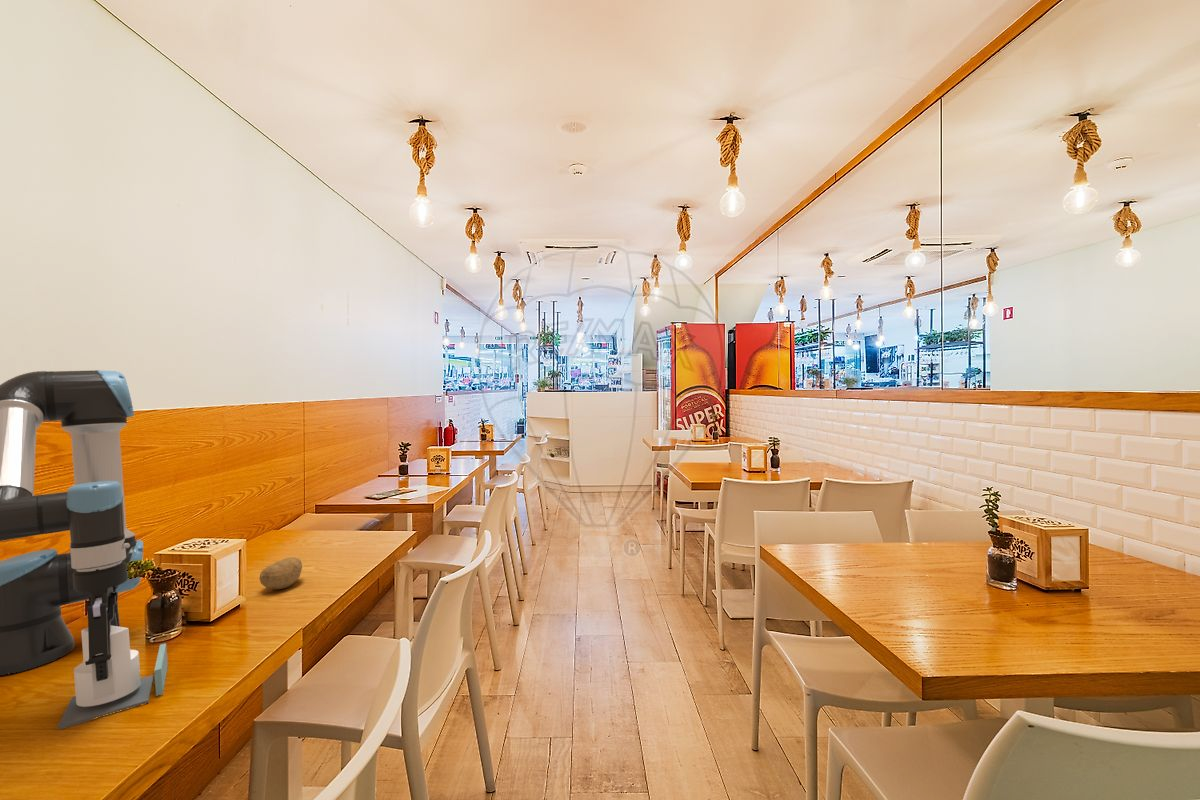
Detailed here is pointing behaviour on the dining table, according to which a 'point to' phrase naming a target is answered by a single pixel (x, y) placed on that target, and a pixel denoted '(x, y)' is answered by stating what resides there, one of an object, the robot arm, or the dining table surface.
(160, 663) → the panel
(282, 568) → the potato
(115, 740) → the dining table surface
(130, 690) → the cylinder with rectangular tab
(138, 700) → the coaster
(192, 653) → the dining table surface
